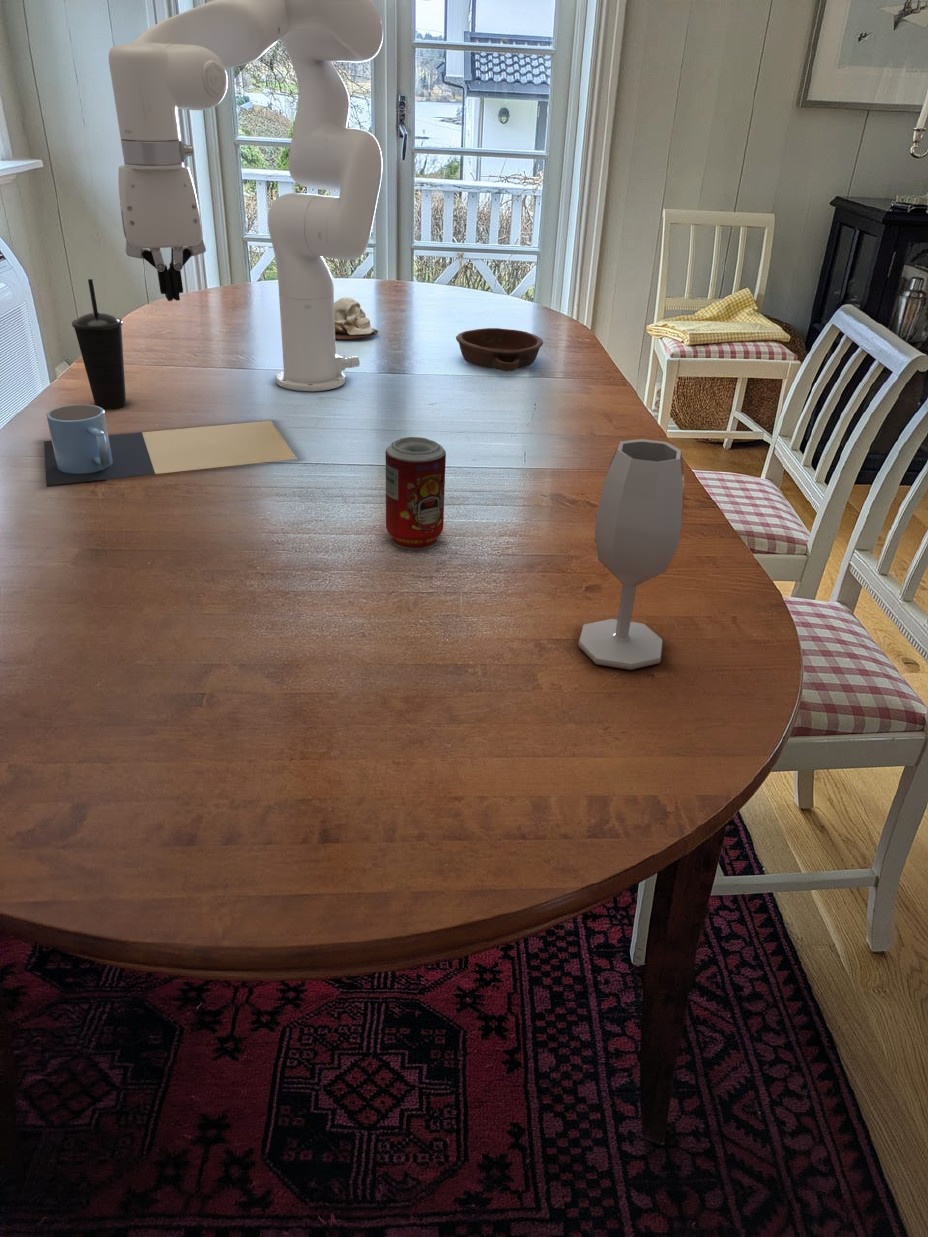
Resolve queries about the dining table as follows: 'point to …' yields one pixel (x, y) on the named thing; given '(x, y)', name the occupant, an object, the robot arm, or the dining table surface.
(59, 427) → the mug
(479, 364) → the dish
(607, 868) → the dining table surface
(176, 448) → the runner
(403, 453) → the soda can
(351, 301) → the skull
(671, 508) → the wineglass
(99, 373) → the drinking cup
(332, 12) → the robot arm
